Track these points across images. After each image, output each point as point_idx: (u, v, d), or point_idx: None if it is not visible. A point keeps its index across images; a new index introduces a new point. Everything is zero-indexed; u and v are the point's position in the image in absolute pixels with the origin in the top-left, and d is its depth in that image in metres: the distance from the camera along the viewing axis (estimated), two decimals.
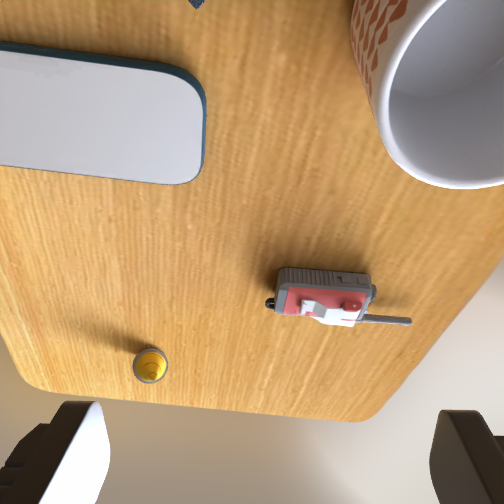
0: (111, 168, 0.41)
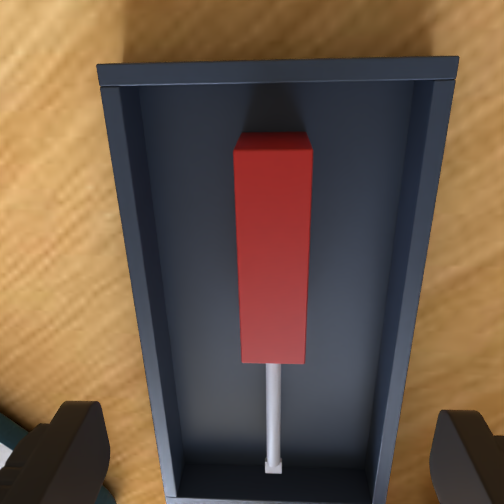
0: None
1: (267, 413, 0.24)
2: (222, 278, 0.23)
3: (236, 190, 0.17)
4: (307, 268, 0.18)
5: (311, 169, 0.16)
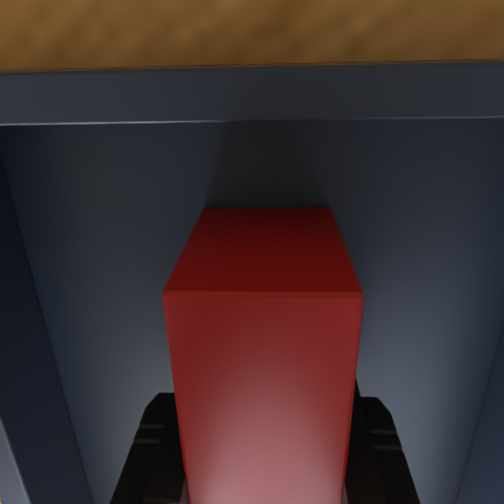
0: None
1: None
2: None
3: (175, 376, 0.07)
4: None
5: (357, 337, 0.06)
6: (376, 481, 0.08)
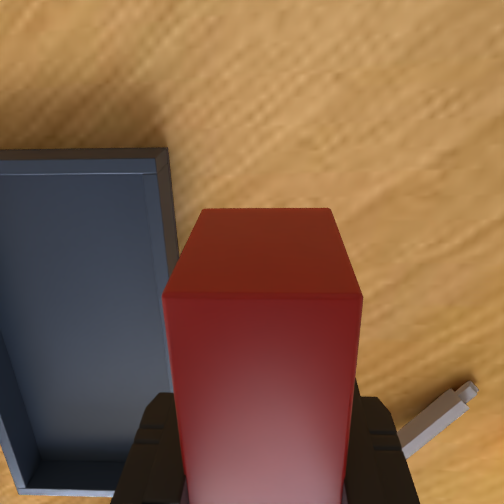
0: None
1: None
2: (42, 310, 0.28)
3: (175, 378, 0.07)
4: None
5: (356, 339, 0.06)
6: (375, 481, 0.08)
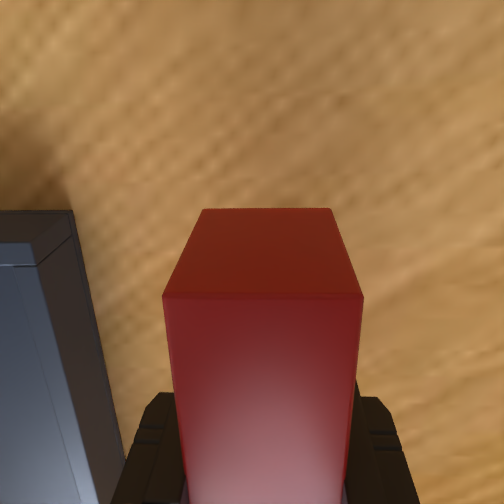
0: None
1: None
2: None
3: (175, 378, 0.07)
4: None
5: (357, 338, 0.06)
6: (376, 481, 0.08)
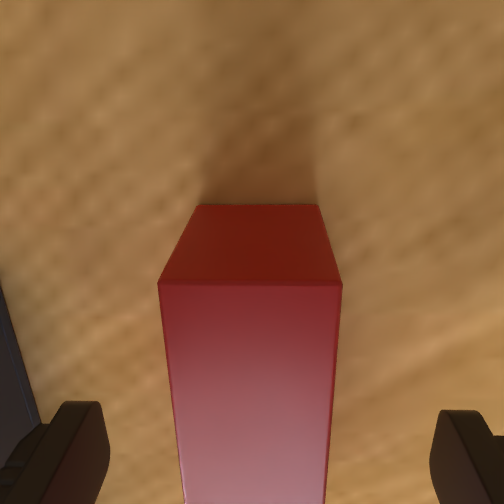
0: None
1: None
2: None
3: (169, 360, 0.07)
4: (323, 494, 0.09)
5: (337, 323, 0.07)
6: None
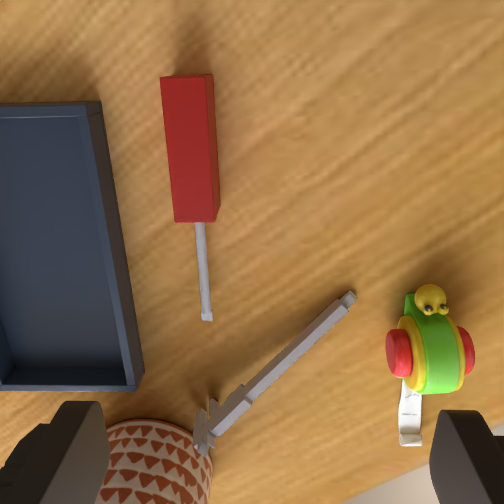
0: None
1: (199, 271, 0.35)
2: (11, 234, 0.36)
3: (163, 103, 0.28)
4: (209, 153, 0.29)
5: (205, 89, 0.28)
6: None
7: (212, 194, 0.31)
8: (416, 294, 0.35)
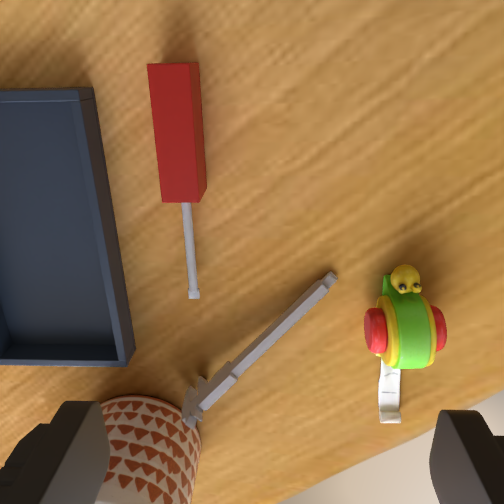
0: None
1: (186, 250, 0.37)
2: (8, 215, 0.38)
3: (150, 88, 0.30)
4: (194, 137, 0.31)
5: (189, 75, 0.29)
6: None
7: (197, 175, 0.32)
8: (392, 274, 0.37)
